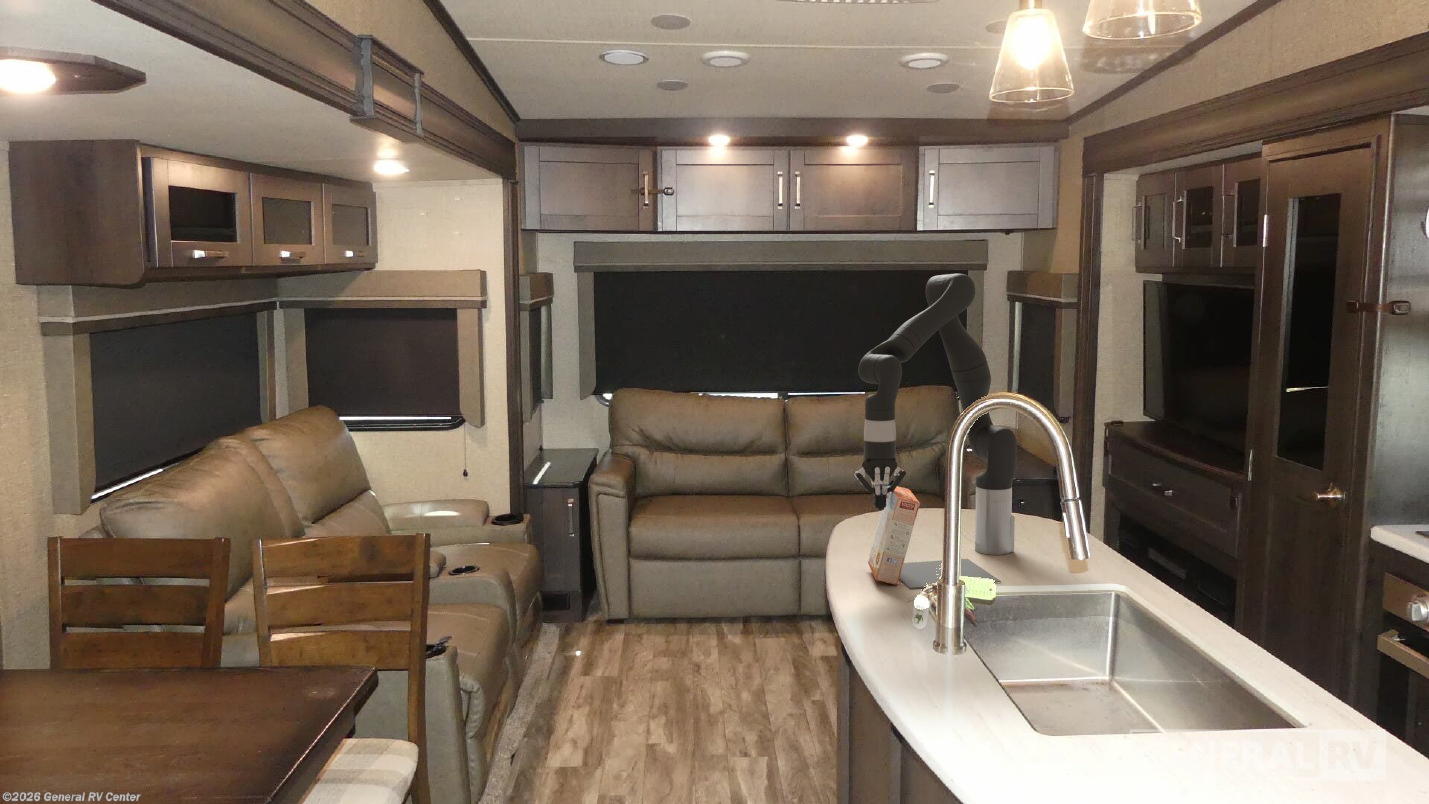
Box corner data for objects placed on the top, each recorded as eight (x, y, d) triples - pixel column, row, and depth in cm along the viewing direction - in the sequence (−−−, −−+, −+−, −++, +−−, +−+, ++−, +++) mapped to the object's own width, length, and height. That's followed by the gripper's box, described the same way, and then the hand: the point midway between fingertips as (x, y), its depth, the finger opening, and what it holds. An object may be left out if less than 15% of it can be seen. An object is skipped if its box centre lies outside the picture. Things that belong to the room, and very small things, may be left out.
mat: (967, 560, 273) (967, 558, 273) (1000, 582, 253) (1001, 581, 253) (883, 565, 269) (883, 564, 269) (910, 589, 249) (910, 587, 249)
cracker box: (899, 586, 252) (921, 502, 248) (874, 581, 252) (896, 496, 248) (890, 568, 265) (911, 488, 262) (867, 563, 265) (887, 483, 262)
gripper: (901, 434, 259) (900, 505, 260) (848, 437, 256) (848, 507, 258) (911, 439, 251) (911, 511, 253) (857, 441, 249) (857, 514, 251)
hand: (879, 509), depth 256 cm, fingers closed
